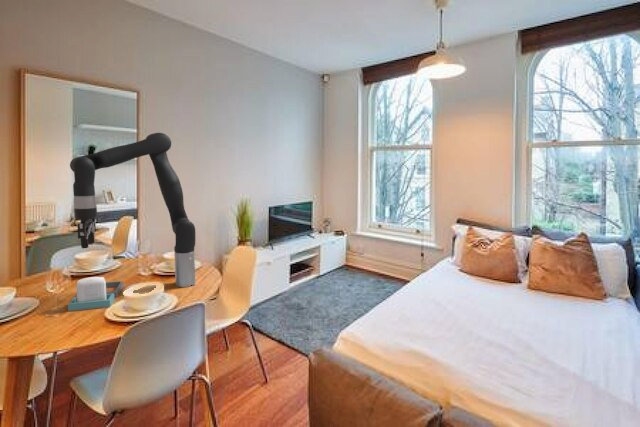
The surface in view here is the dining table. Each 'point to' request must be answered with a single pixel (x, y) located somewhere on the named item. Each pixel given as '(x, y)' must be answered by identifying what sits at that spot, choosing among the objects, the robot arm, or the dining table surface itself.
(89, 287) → the grey rounded block
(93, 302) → the tray
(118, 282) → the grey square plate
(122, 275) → the dining table surface
